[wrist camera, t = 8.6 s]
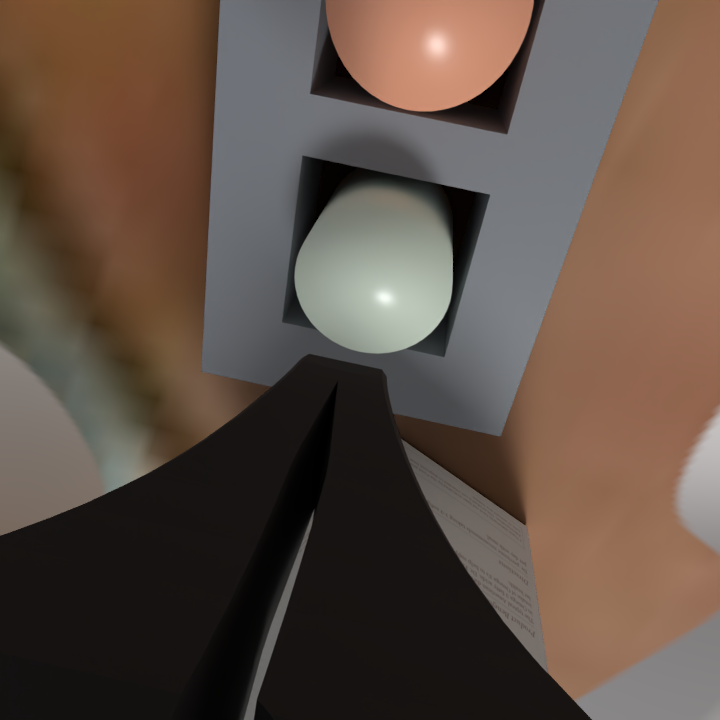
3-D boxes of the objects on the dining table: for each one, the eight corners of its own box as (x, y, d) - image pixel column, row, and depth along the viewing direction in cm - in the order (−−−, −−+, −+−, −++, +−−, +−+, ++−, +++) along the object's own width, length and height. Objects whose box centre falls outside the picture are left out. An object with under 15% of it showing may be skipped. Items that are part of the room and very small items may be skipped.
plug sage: (319, 268, 20) (286, 336, 16) (336, 147, 18) (304, 190, 14) (436, 293, 20) (432, 367, 16) (467, 174, 18) (470, 225, 14)
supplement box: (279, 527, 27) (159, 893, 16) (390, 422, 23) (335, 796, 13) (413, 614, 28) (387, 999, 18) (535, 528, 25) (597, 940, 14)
